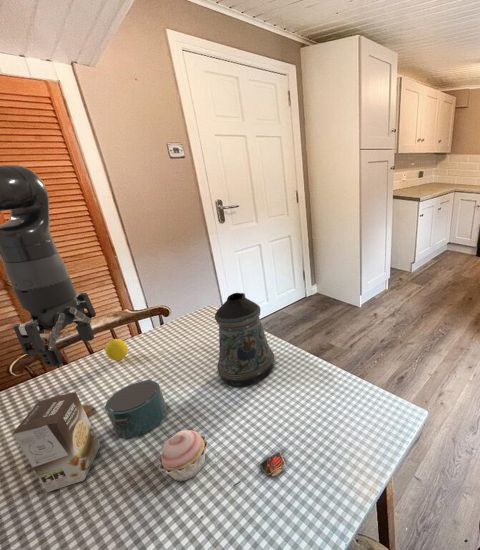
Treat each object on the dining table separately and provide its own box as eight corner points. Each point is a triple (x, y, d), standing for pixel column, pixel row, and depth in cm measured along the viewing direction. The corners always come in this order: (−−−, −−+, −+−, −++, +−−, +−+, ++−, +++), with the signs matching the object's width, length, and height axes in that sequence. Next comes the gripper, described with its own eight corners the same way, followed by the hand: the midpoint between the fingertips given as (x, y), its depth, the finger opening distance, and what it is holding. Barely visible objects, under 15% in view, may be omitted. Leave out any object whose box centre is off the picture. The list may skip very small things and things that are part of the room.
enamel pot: (102, 447, 70) (90, 422, 67) (130, 403, 82) (121, 380, 80) (155, 437, 72) (146, 413, 69) (175, 395, 85) (168, 373, 82)
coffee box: (86, 480, 63) (55, 423, 57) (46, 493, 61) (10, 435, 55) (101, 444, 71) (76, 390, 65) (66, 454, 68) (37, 399, 62)
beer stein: (230, 397, 84) (212, 319, 75) (209, 363, 98) (192, 293, 88) (284, 370, 94) (274, 298, 85) (259, 343, 108) (248, 279, 98)
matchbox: (258, 466, 65) (258, 465, 65) (278, 449, 69) (278, 448, 69) (271, 480, 63) (271, 478, 62) (291, 461, 66) (291, 460, 66)
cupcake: (159, 497, 60) (145, 462, 56) (167, 457, 68) (155, 424, 64) (211, 478, 63) (201, 444, 59) (213, 442, 71) (204, 410, 67)
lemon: (105, 364, 98) (97, 343, 95) (121, 353, 103) (113, 333, 100) (120, 366, 97) (112, 345, 94) (135, 355, 102) (127, 335, 99)
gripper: (51, 267, 62) (79, 334, 68) (-23, 297, 49) (20, 377, 55) (91, 265, 63) (115, 332, 69) (29, 295, 50) (65, 373, 56)
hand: (73, 351), depth 62 cm, fingers open, 8 cm apart
